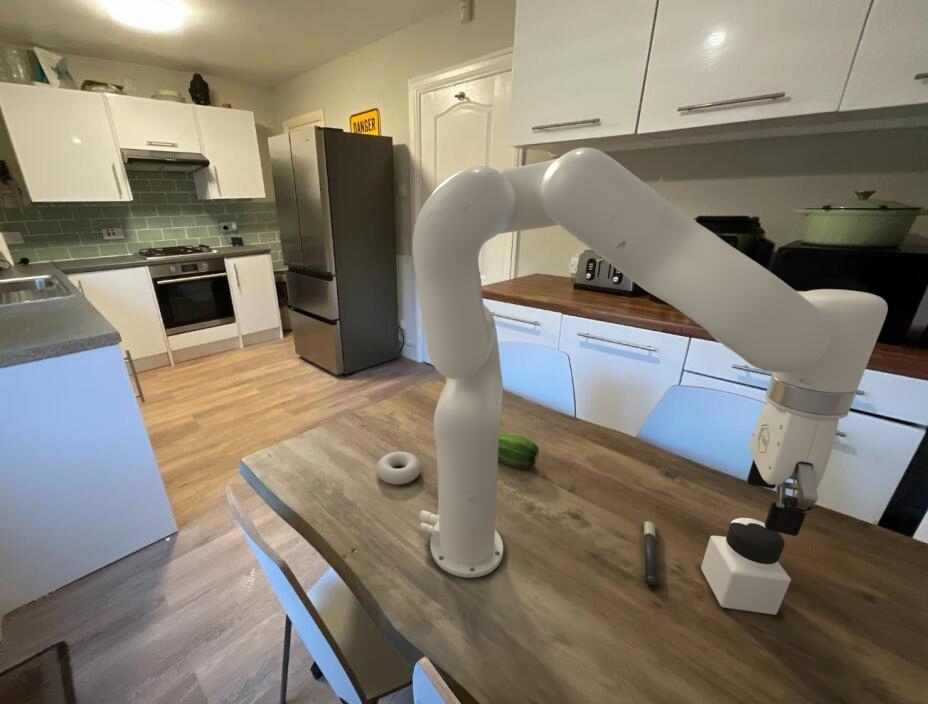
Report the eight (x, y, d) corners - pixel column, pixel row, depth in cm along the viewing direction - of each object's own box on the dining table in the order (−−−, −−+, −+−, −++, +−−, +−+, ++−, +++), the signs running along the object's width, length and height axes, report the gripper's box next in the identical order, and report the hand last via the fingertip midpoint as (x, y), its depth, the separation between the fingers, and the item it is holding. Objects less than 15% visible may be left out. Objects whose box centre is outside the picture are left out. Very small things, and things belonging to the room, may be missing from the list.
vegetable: (534, 442, 86) (457, 415, 98) (526, 475, 86) (449, 444, 98) (546, 442, 92) (472, 417, 104) (538, 473, 92) (465, 444, 104)
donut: (388, 457, 98) (369, 482, 89) (388, 445, 96) (367, 468, 88) (427, 466, 94) (411, 492, 85) (427, 453, 93) (410, 478, 84)
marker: (652, 590, 63) (661, 586, 62) (643, 582, 63) (652, 578, 62) (649, 530, 74) (656, 526, 73) (641, 523, 74) (649, 519, 73)
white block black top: (777, 616, 58) (804, 552, 53) (720, 608, 59) (742, 545, 55) (750, 574, 64) (772, 514, 60) (699, 568, 66) (717, 509, 61)
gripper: (752, 365, 58) (724, 465, 64) (790, 421, 44) (750, 543, 50) (821, 371, 55) (785, 476, 61) (888, 435, 40) (831, 563, 47)
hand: (769, 506), depth 55 cm, fingers open, 9 cm apart
